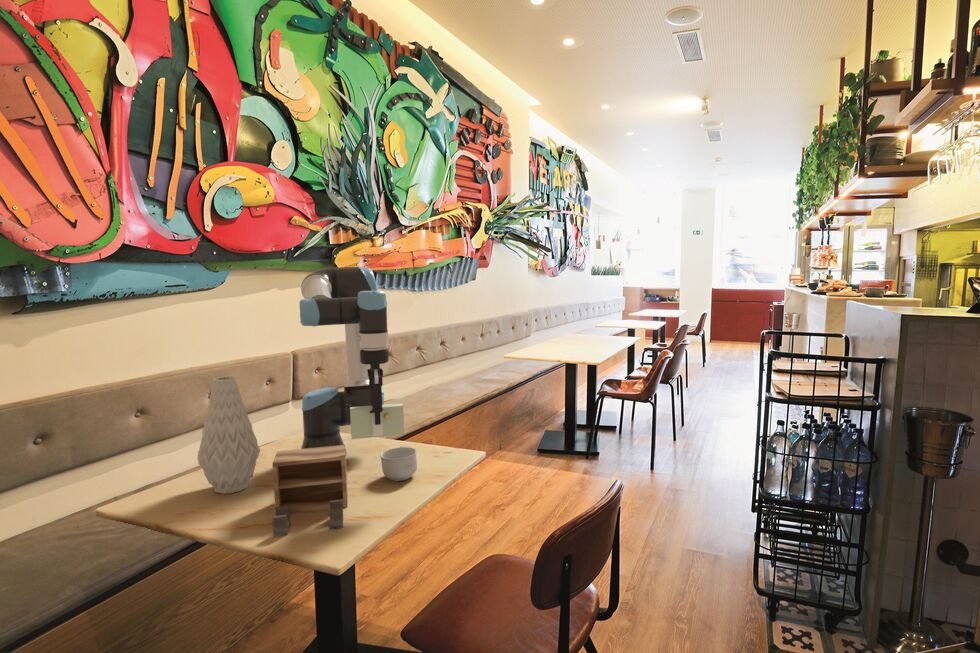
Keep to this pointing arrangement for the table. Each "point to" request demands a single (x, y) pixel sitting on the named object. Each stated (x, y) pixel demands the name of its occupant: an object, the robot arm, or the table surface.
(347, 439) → the table surface
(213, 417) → the vase
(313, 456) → the wooden shelf unit
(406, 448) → the teacup
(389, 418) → the door
